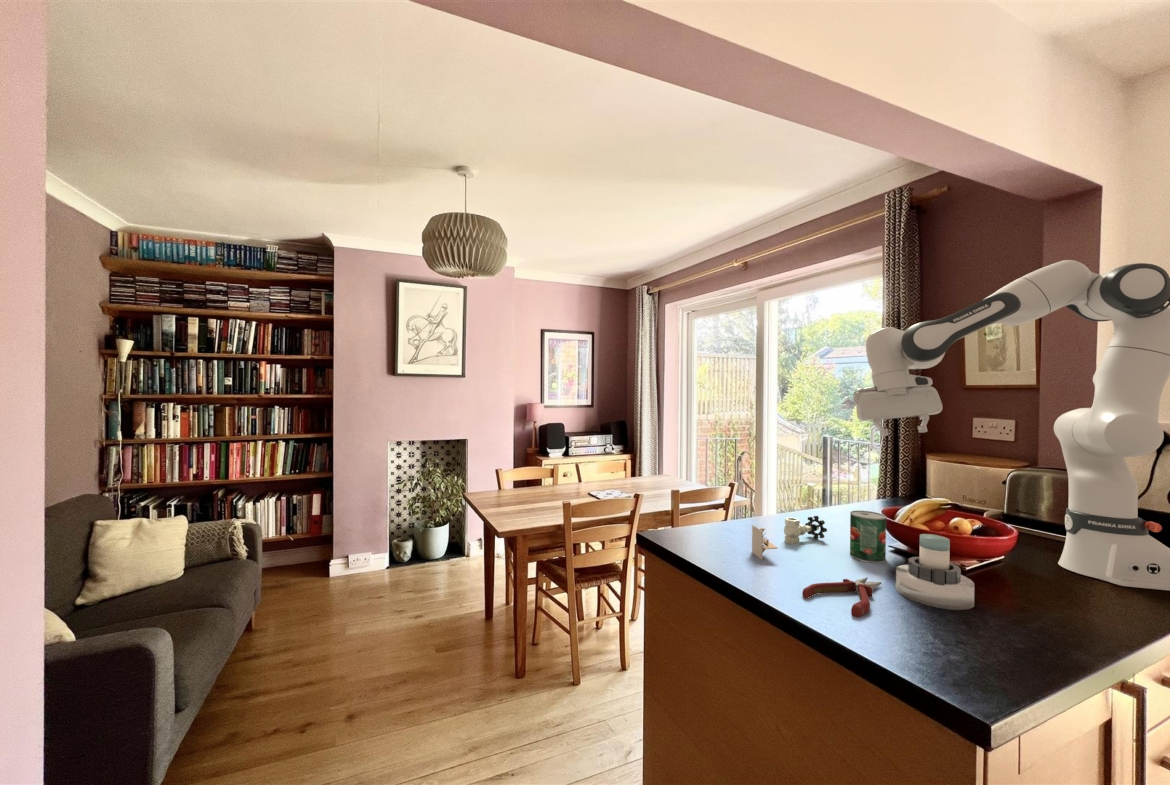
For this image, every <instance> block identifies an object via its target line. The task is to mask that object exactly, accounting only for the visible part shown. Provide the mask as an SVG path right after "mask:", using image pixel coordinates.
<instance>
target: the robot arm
mask: <svg viewBox="0 0 1170 785" xmlns="http://www.w3.org/2000/svg"><path fill="white" fill-rule="evenodd" d="M1064 307H1065V308H1066V309H1069V310H1071V311H1073V313H1074V314H1076V315H1077V316H1078V317H1080V318H1082V319H1084V320H1088V321H1090V322H1097V323H1098V322H1108V321H1110V322H1112V324H1113V334H1112V338H1111V339H1110V341H1109V343H1108V345H1107V347H1106V349H1105V351H1104V353H1103V356H1102V357H1101V359H1100V362H1099V364H1098V365H1097V368H1096V370H1095V372H1094V374H1093V376H1092V383H1093V385H1094V394H1093V395H1094V396H1093V403H1092V405H1091V407H1082V408H1081V407H1079V408H1076V409H1072V410H1069V411H1067V412H1065V413H1062V414H1061V415H1060V416H1058V417H1057V419H1056V420H1055V422H1054V425H1053V432H1054V435H1055V437H1056V438H1057V439H1058V441H1059V443H1060V446H1061V447H1060V448H1061V451H1062V454H1063V455H1062V456H1063V459H1064V464H1065V467H1066V472H1067V477H1068V478H1067V479H1068V503H1067V506H1068V507H1066V508H1065V515H1064V526H1065V527H1064V528H1065V531H1066V536H1065V542H1064V545H1063V549H1062V553H1061V555H1060V558H1059V560H1058V562H1057V564H1058V565H1059V566H1060V567H1062V568H1063V569H1066V570H1068V571H1070V572H1074V573H1076V574H1078V575H1083V576H1086V577H1091V578H1094V579H1099V580H1101V581H1105V582H1109V583H1111V584H1114V585H1117V586H1121V587H1130V588H1141V589H1149V590H1150V589H1151V590H1161V591H1170V547H1168V546H1166V545H1165V544H1163V543H1162V542H1160V541H1159V540H1157V539H1156V538H1154V537H1153V536H1151V535H1150V534H1149V531H1151V532H1153V533H1159V532H1161V531H1162V529H1163V527H1162V525H1161V524H1160V523H1158V522H1154V521H1151V520H1150V521H1147V520H1145V519H1143V518H1142V517H1139V516H1138V514H1139V512H1138V510H1139V506H1138V505H1139V504H1138V502H1139V484H1138V481H1137V480H1136V478H1135V477H1134V476H1133V475H1132V473H1131V471H1130V469H1129V466H1128V463H1127V460H1126V458H1134V457H1136V458H1137V457H1141V456H1146V455H1150V454H1151V453H1153V452H1155V451H1156V450H1157V449H1159V448H1160V446H1162V444H1163V442H1164V439H1165V436H1164V435H1165V434H1164V430H1163V428H1162V426H1161V424H1160V423H1159V413H1160V412H1159V411H1160V402H1161V397H1162V393H1163V390H1164V389H1165V385H1166V383H1167V381H1168V380H1169V377H1170V275H1169V273H1168V272H1167V271H1166V270H1165V269H1164V268H1162V266H1161V267H1160V266H1158V265H1156V264H1153V263H1145V262H1144V263H1143V262H1140V263H1138V262H1137V263H1130V264H1125V265H1121V266H1119V267H1116V268H1115V269H1113V270H1109V271H1106V272H1105V273H1102V274H1100V273H1095V272H1094V271H1091V270H1090V269H1089V268H1088V266H1086V264H1084V263H1082V262H1080V261H1078V260H1074V259H1065V260H1064V259H1063V260H1060V261H1057V262H1054V263H1052V264H1049V265H1047V266H1043V267H1041V268H1038V269H1035V270H1033V271H1032V272H1028V273H1027V274H1025V275H1023V276H1021V277H1019V278H1016V279H1015V280H1013V281H1011V282H1009V283H1008V284H1005V285H1004V286H1002V287H1001V288H999V289H998V290H996V291H994V292H993V293H991V294H990V295H988V296H987V297H985V298H984V299H982V300H980V301H977V302H975V303H974V304H971V305H969V306H967V307H964V308H963V309H961V310H958V311H956V312H954V313H951V314H949V315H948V316H945V317H941V318H937V319H934V320H926V321H921V322H918V323H915V324H912V325H911V326H909V327H908V328H907V329H906V330H903V329H898V328H896V327H894V326H888V327H883V328H880V329H877V330H875V331H873V332H872V333H871V334H869V336H867V338H866V340H865V353H866V357H867V362H868V365H869V367H870V368H871V379H872V384H873V386H870V387H865V388H863V387H862V388H861V387H860V388H857V390H855V391H854V392H853V396H852V397H853V401H854V403H855V405H856V406H855V407H856V417H857V419H858V420H859V421H860V422H870V421H872V423H873V424H872V425H874V426H875V428H876V429H877V430H879V435H880V436H881V437H886V436H889V429H888V428H884V426H883V425H882V420H891V419H901V418H902V419H903V418H911V417H912V418H913V417H919V420H920V421H921V420H922V421H921V423H920V425H918V426H916V427H917V430H918V433H927V432H928V428H927V425H928V422H929V420H930V416H932V415H933V416H934V415H938V414H940V413H941V412H942V411H943V403H942V400H941V398H940V395H939V393H938V390H937V389H936V388H935V387H933V386H932V385H933V379H932V378H931V377H928V376H922V375H916V374H915V375H914V374H910V371H909V370H924V369H925V370H926V369H930V368H933V367H935V366H937V365H938V364H939V363H941V362H942V360H943V358H944V356H945V354H946V352H947V351H948V349H949V348H950V347H951V346H952V345H953V344H954V343H956V342H957V341H958V340H960V339H962V338H965V337H966V336H969V335H971V334H974V333H976V332H977V331H979V330H982V329H985V328H986V327H989V326H992V325H995V324H1001V325H1004V326H1008V327H1017V326H1021V325H1024V324H1027V323H1030V322H1033V321H1036V320H1038V319H1041V318H1042V317H1045V316H1048V315H1049V314H1051V313H1054V312H1055V311H1057V310H1059V309H1062V308H1064Z"/></svg>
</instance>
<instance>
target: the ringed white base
mask: <svg viewBox="0 0 1170 785" xmlns="http://www.w3.org/2000/svg"><path fill="white" fill-rule="evenodd" d="M961 570H962V568H960V566H958V565H957V564H955V563H952V562H949V570H944V569H939V568H934V569H932V568H928V567H925V566H922V565H919V556H912V557H910V558H907V564H902V565H898V566H896V567H895V590H896V592H898V594H900V595H902V596H903V597H905V598H907V599H909V600H912V601H913V602H917V603H919V604H923V605H926V606H929V607H933V608H938V609H945V610H951V611H965V610H970V609H972V608H974V607H975V582H974V581H973V580H972V579H971V578H968V577H967V576H965V575H963V574H962V571H961Z"/></svg>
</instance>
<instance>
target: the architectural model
mask: <svg viewBox="0 0 1170 785" xmlns="http://www.w3.org/2000/svg"><path fill="white" fill-rule="evenodd" d="M751 530H752V531H751V532H752V533H751V534H752V535H751V553H752V555H753V554H754V555H755V556H756V557H757V558H759V559H760V560H761V561H763V557H764V556H763V553H764V552H765V551H767V550H778V547H777V545H774V544H773V543H772V542H770V541H769V539H768V538H767V537H766V536H765V535H766V533H764V531H765V530H766V528H764V527H763V528H760V527H757V526H756V525H755V524H752V528H751Z"/></svg>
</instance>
